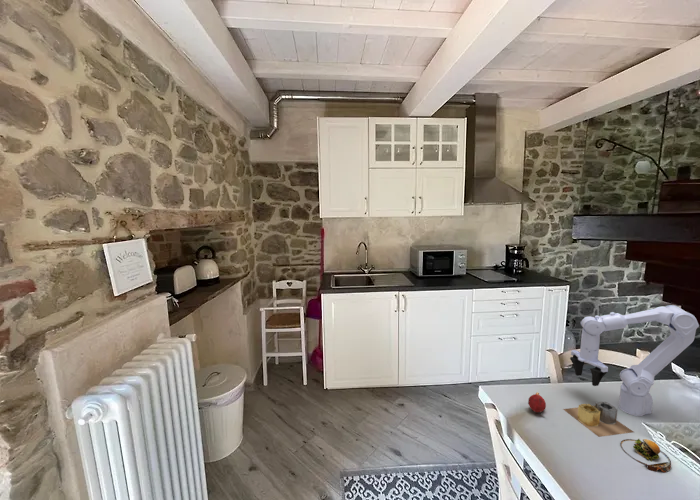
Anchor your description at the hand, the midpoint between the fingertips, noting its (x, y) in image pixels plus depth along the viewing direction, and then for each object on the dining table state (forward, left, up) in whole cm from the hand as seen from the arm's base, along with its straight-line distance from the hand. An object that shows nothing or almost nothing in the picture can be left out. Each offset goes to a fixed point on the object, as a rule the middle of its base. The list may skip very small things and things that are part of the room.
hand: (586, 380), depth 125 cm
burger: (+5, +27, -10) cm, 30 cm away
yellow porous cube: (+10, +11, -9) cm, 17 cm away
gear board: (+6, +11, -10) cm, 16 cm away
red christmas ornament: (+23, +2, -10) cm, 25 cm away
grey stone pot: (+3, +11, -9) cm, 14 cm away
